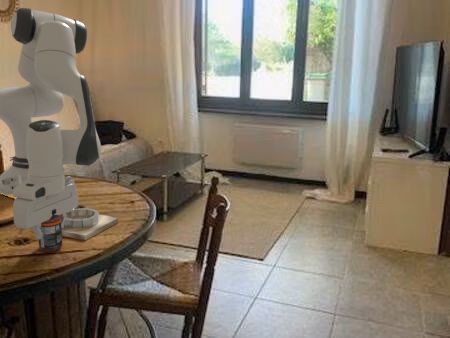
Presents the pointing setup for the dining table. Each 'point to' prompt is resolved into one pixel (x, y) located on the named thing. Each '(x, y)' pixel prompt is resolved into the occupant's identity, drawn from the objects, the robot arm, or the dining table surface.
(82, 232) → the birch board
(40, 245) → the supplement bottle
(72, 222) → the steel ring
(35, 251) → the dining table surface
